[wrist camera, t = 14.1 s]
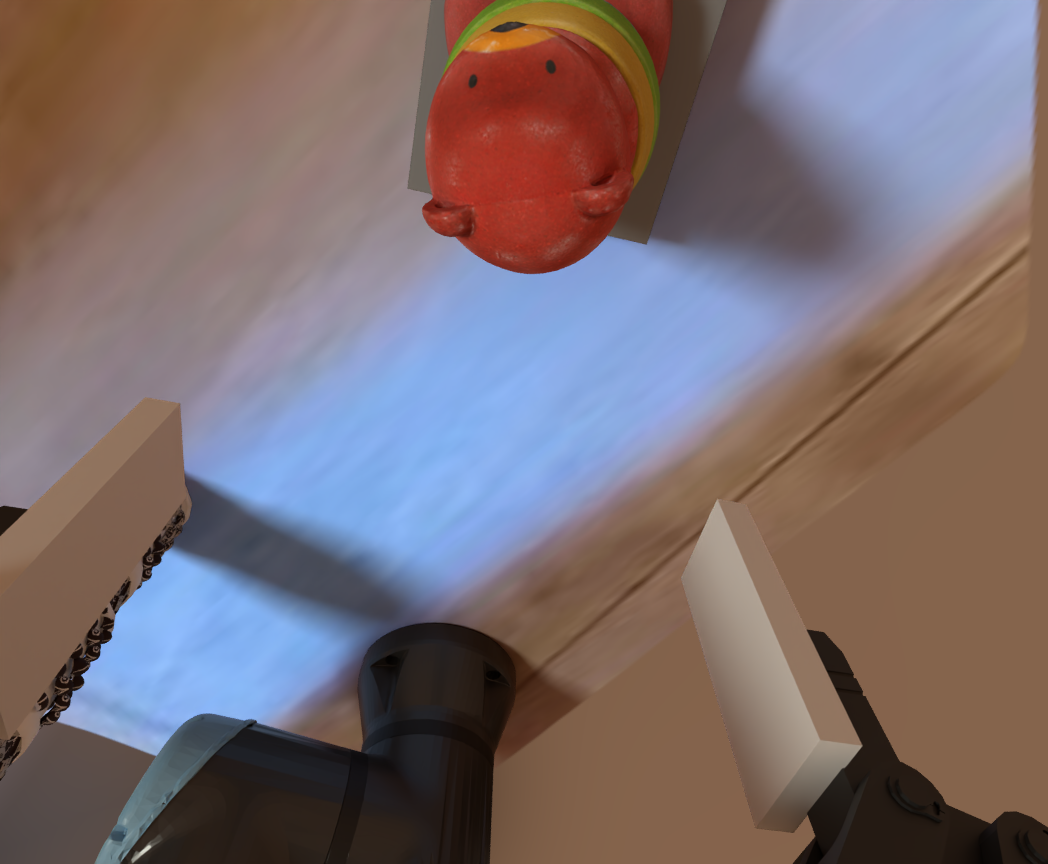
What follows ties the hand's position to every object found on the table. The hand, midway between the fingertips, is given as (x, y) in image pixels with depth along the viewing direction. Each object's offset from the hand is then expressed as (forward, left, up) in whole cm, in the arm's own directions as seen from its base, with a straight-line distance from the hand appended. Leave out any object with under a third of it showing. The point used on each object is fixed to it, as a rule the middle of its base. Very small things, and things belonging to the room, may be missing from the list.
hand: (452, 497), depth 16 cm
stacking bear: (+8, -2, -25) cm, 26 cm away
